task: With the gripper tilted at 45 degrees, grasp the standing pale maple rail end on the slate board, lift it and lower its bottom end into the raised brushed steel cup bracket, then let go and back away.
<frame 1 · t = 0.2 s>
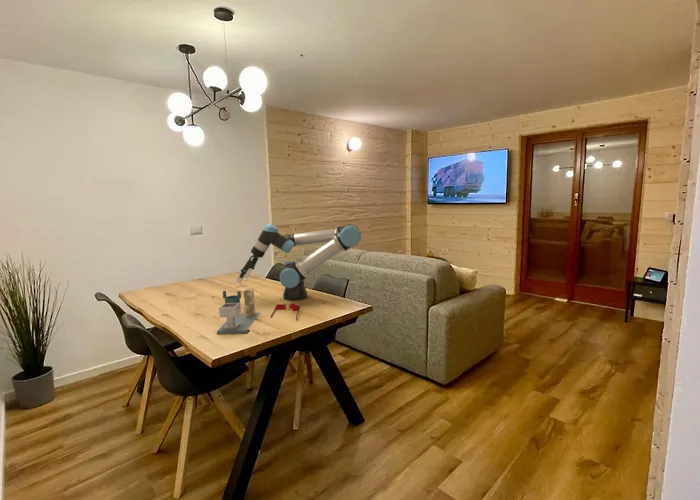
hand: (241, 279, 208), 15 cm above the table, tool tilted 35°, fingers open, 13 cm apart
glasses: (285, 317, 189), on the table
cup bracket: (231, 326, 171), resting on board
bracket: (233, 305, 211), on the table
rail end: (250, 315, 187), point 1 cm above the table, touching board
board: (240, 324, 179), on the table
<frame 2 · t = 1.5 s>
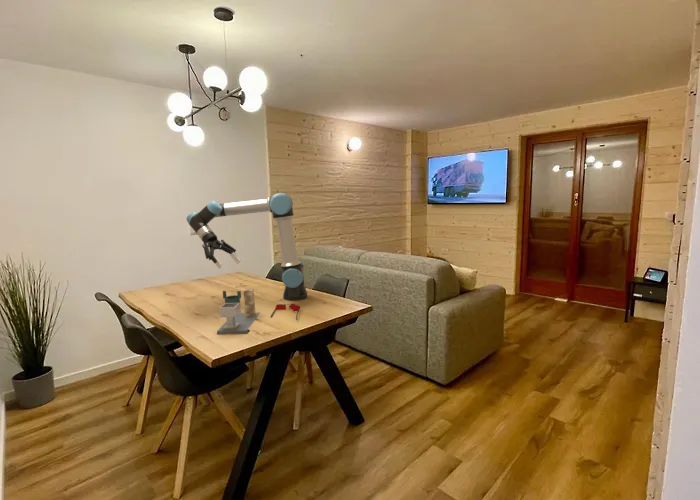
hand: (230, 264, 193), 27 cm above the table, tool tilted 45°, fingers open, 13 cm apart
nothing on the table moved.
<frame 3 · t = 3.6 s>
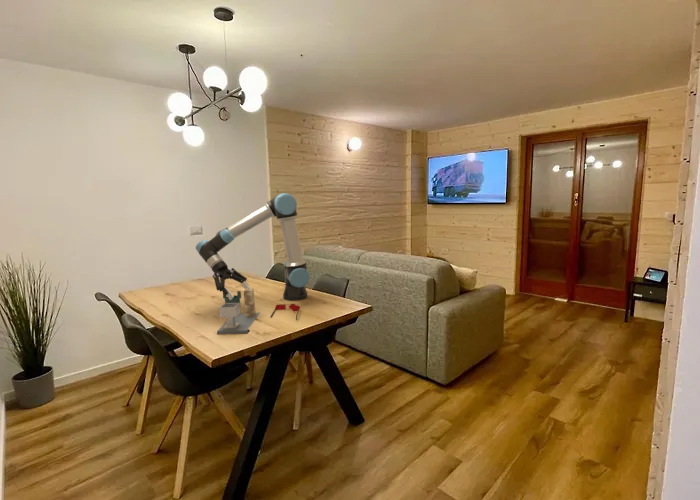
hand: (241, 295, 186), 12 cm above the table, tool tilted 45°, fingers open, 13 cm apart
nothing on the table moved.
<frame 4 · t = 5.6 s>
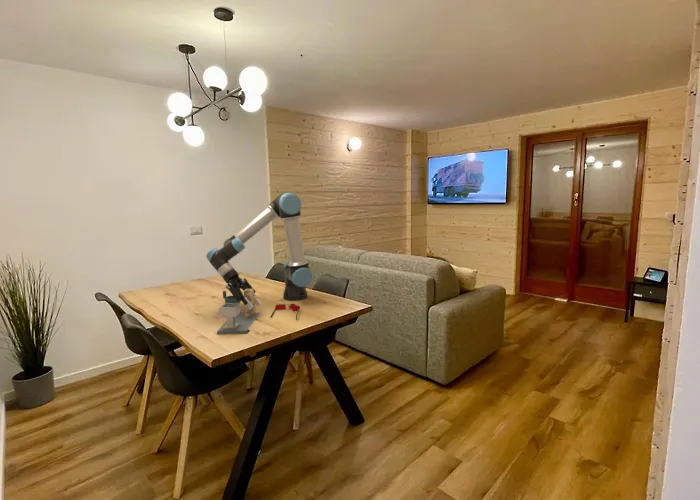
hand: (255, 306, 184), 7 cm above the table, tool tilted 45°, fingers closed on rail end, 5 cm apart
rail end: (250, 315, 187), point 2 cm above the table, touching board, gripper
everything else where it was.
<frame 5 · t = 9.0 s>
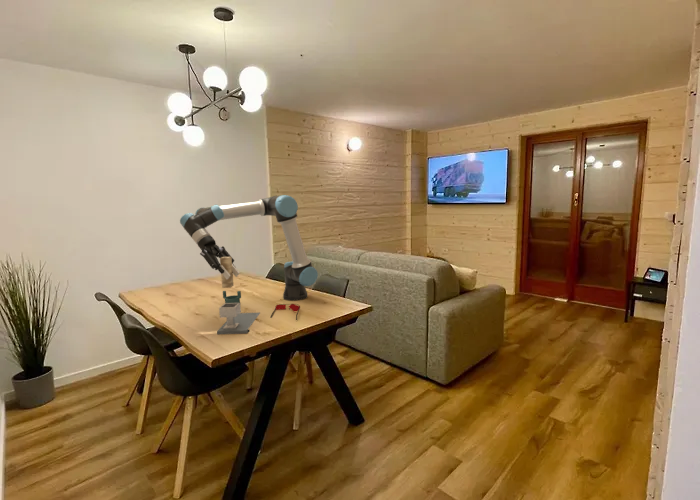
hand: (233, 276, 166), 26 cm above the table, tool tilted 45°, fingers closed on rail end, 5 cm apart
rail end: (227, 286, 168), point 21 cm above the table, touching gripper
everything else where it was.
when the fingers open (15 cm above the table, at t = 12.2 s): rail end drops 2 cm, resting on cup bracket.
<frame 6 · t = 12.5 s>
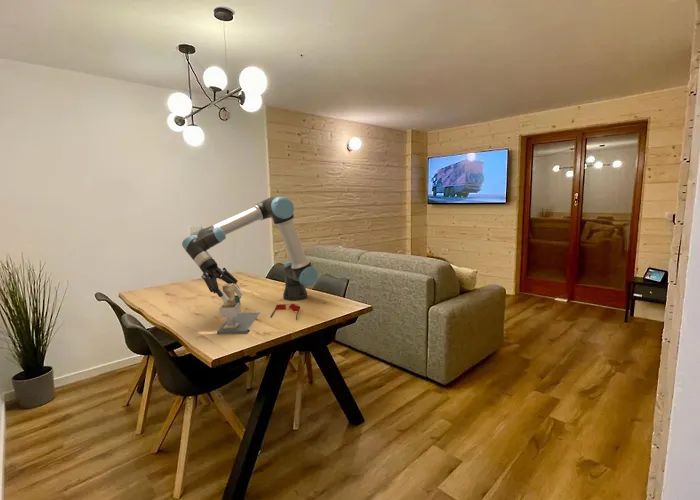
hand: (234, 298, 168), 16 cm above the table, tool tilted 45°, fingers open, 9 cm apart
rail end: (230, 313, 170), point 8 cm above the table, touching cup bracket
everything else where it was.
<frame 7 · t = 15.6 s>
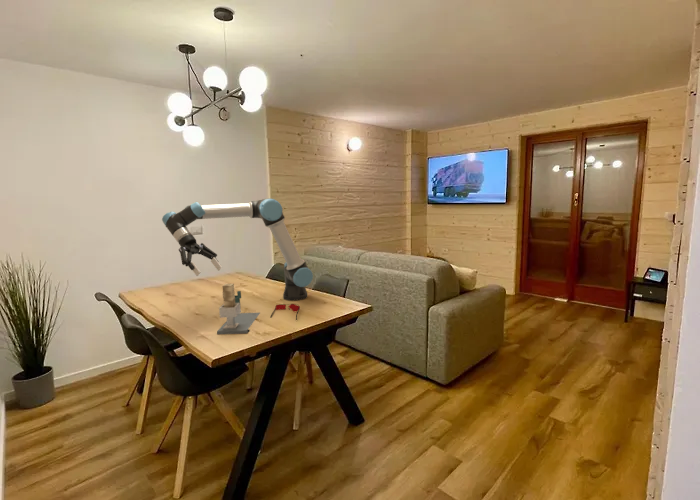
hand: (209, 271, 173), 28 cm above the table, tool tilted 45°, fingers open, 13 cm apart
nothing on the table moved.
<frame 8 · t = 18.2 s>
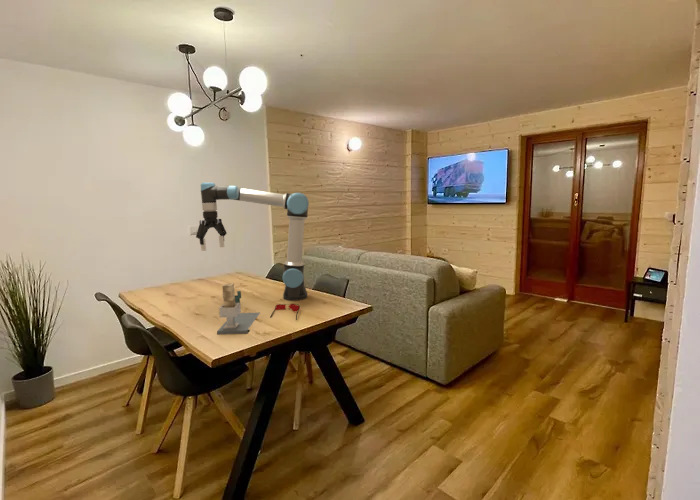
hand: (213, 248, 201), 35 cm above the table, tool pointing down, fingers open, 13 cm apart
nothing on the table moved.
at the end: rail end 0.1 cm off-centre on the cup bracket, point 6.6 cm above the cup bracket's base; rail end tilted 0°; the gripper is holding nothing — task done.
